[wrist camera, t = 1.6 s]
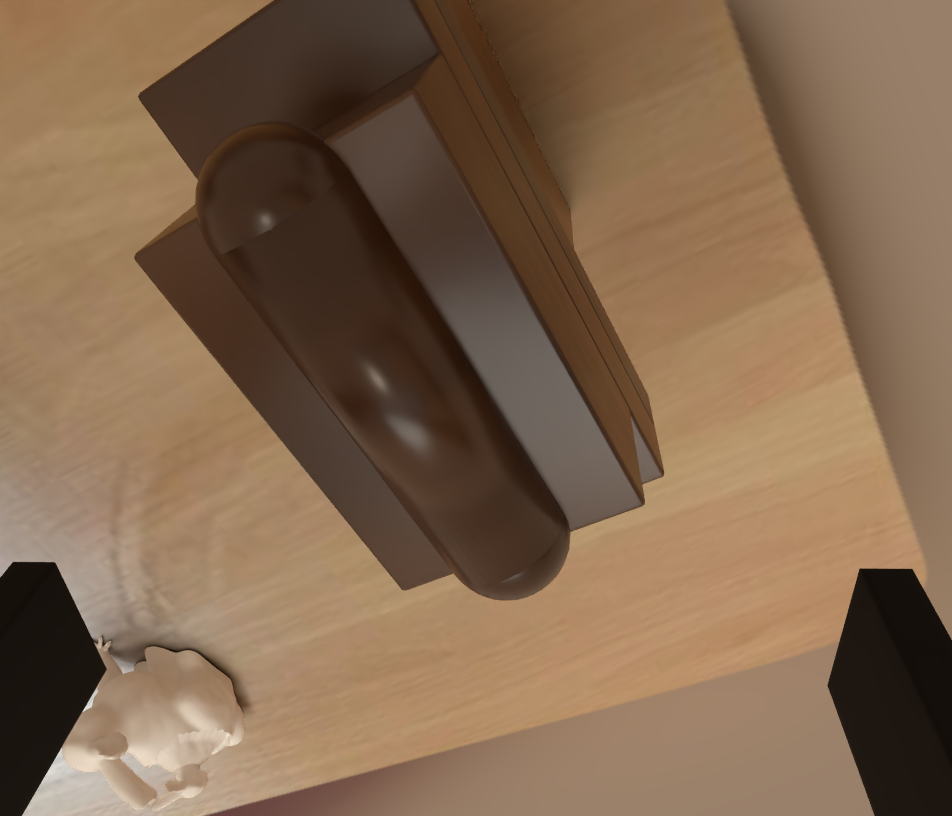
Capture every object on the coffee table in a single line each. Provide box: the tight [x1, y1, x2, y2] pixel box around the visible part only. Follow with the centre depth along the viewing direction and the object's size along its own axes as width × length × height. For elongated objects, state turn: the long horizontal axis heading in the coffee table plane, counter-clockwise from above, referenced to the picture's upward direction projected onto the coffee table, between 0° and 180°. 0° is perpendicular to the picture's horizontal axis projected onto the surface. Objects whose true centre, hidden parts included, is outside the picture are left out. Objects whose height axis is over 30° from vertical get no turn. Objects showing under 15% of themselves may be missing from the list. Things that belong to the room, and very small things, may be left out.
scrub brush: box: [134, 0, 664, 600], centre depth 15 cm, size 12×5×8 cm, turn 29°
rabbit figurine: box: [62, 637, 245, 811], centre depth 46 cm, size 12×8×10 cm, turn 46°
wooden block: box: [447, 0, 574, 249], centre depth 25 cm, size 10×4×14 cm, turn 29°
